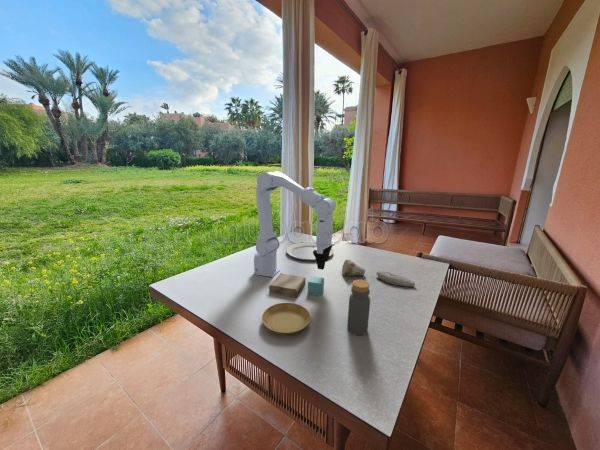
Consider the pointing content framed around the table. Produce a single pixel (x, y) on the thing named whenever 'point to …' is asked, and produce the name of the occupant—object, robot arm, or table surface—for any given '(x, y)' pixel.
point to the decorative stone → (395, 278)
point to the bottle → (359, 308)
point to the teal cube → (315, 285)
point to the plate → (300, 245)
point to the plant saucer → (286, 318)
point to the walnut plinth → (287, 285)
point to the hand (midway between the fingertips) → (322, 264)
